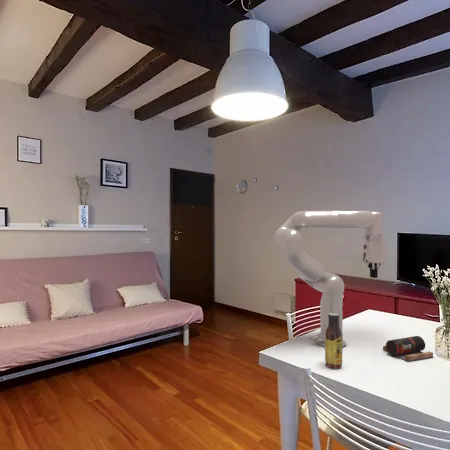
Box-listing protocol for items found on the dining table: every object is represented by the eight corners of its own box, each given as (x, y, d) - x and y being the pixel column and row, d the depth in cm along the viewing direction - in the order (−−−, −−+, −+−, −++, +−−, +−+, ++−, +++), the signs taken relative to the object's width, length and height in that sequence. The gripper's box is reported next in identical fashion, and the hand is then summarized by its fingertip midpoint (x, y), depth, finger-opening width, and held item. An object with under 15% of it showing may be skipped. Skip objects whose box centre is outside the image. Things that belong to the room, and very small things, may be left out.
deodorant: (398, 344, 138) (425, 339, 143) (386, 337, 143) (413, 333, 149) (396, 358, 139) (424, 353, 144) (385, 351, 144) (412, 346, 149)
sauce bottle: (340, 371, 128) (339, 317, 128) (323, 367, 131) (322, 315, 131) (344, 364, 133) (343, 313, 133) (327, 361, 137) (327, 311, 136)
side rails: (407, 362, 135) (407, 357, 135) (383, 350, 148) (382, 345, 148) (433, 357, 139) (433, 352, 139) (406, 346, 152) (406, 342, 152)
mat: (407, 362, 135) (407, 360, 135) (383, 350, 148) (383, 349, 148) (433, 357, 139) (433, 356, 139) (406, 346, 152) (406, 345, 152)
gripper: (366, 238, 155) (366, 279, 155) (392, 238, 160) (392, 277, 160) (354, 238, 162) (355, 277, 163) (380, 237, 167) (380, 275, 167)
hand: (373, 277), depth 161 cm, fingers closed
